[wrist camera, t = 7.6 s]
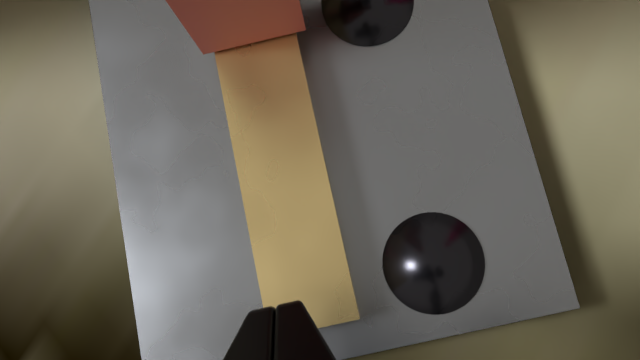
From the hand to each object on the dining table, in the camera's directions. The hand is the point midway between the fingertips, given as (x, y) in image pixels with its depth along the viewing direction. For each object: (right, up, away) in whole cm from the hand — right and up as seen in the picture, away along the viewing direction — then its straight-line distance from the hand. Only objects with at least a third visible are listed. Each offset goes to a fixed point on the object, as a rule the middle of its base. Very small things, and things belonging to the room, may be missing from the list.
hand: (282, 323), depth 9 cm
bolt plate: (-1, +9, +10) cm, 13 cm away
